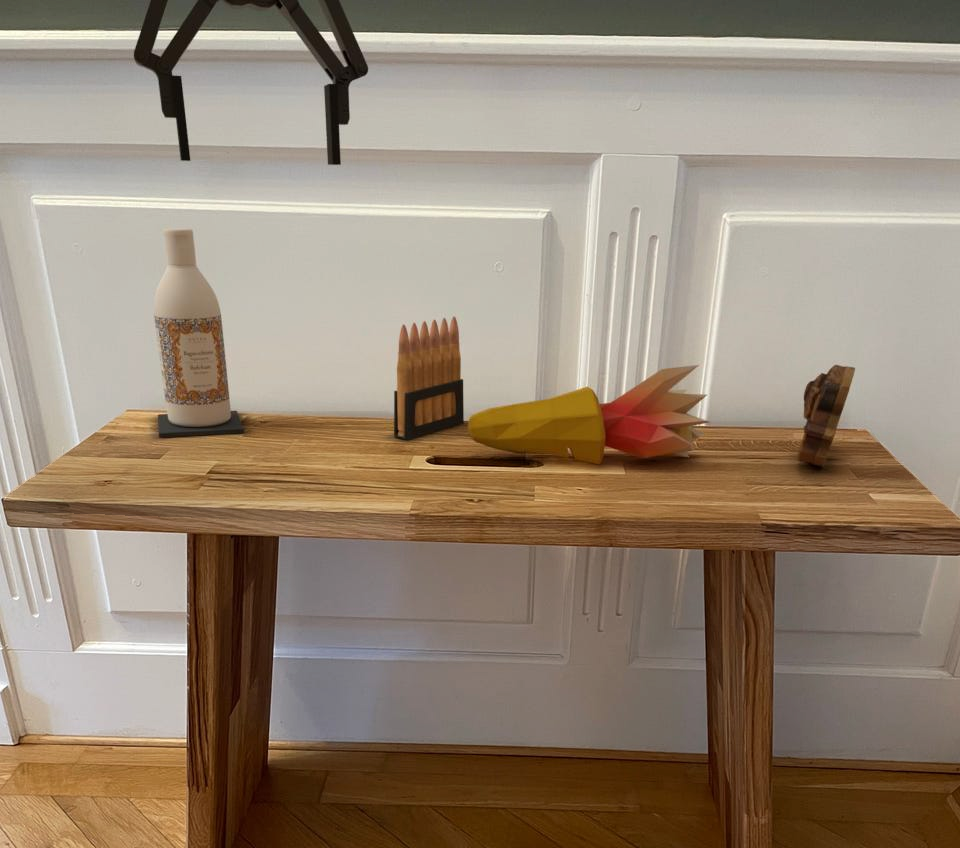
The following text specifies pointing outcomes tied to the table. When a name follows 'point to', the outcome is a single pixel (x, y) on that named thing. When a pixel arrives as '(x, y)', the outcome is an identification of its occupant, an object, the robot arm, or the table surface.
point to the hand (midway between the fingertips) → (261, 163)
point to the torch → (597, 422)
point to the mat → (176, 431)
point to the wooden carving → (823, 412)
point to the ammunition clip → (428, 381)
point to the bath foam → (190, 339)
